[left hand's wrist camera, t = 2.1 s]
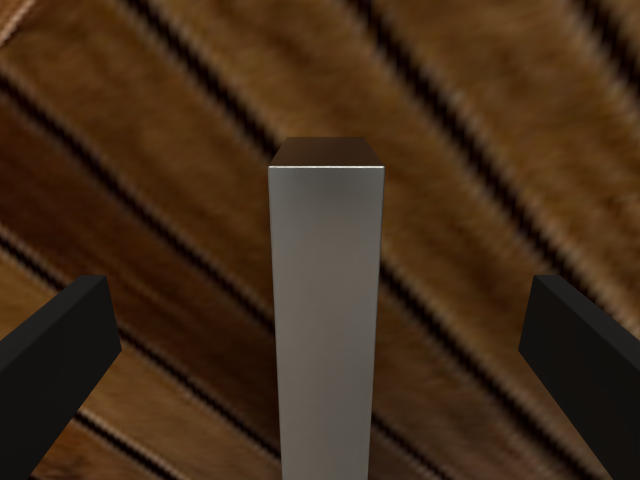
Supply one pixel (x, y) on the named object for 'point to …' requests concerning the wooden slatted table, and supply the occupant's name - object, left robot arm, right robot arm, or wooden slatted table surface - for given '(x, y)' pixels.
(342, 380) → the bar
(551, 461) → the wooden slatted table surface
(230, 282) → the wooden slatted table surface
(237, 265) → the wooden slatted table surface
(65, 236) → the wooden slatted table surface
